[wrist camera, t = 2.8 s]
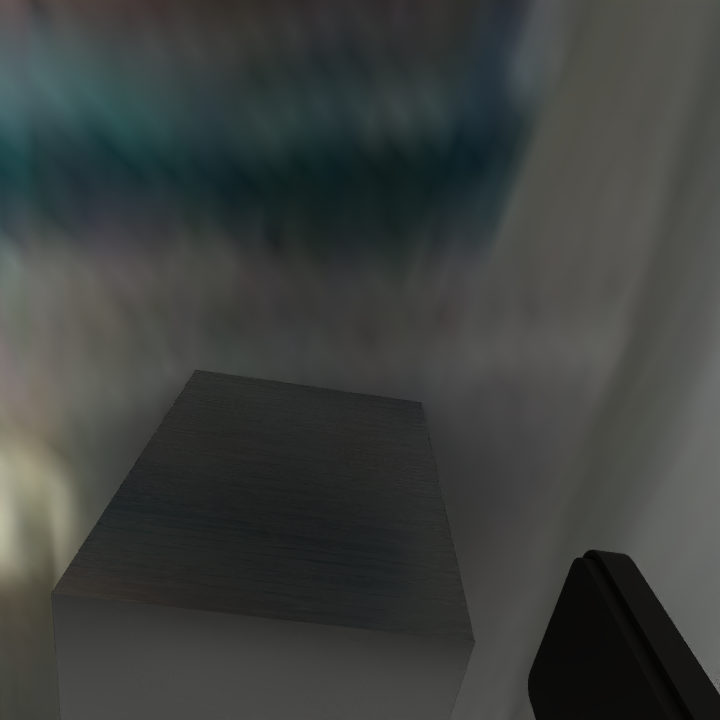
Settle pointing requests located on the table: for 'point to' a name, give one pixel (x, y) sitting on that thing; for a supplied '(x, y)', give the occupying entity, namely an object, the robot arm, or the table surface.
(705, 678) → the robot arm
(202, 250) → the table surface
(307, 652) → the dark gray beam
